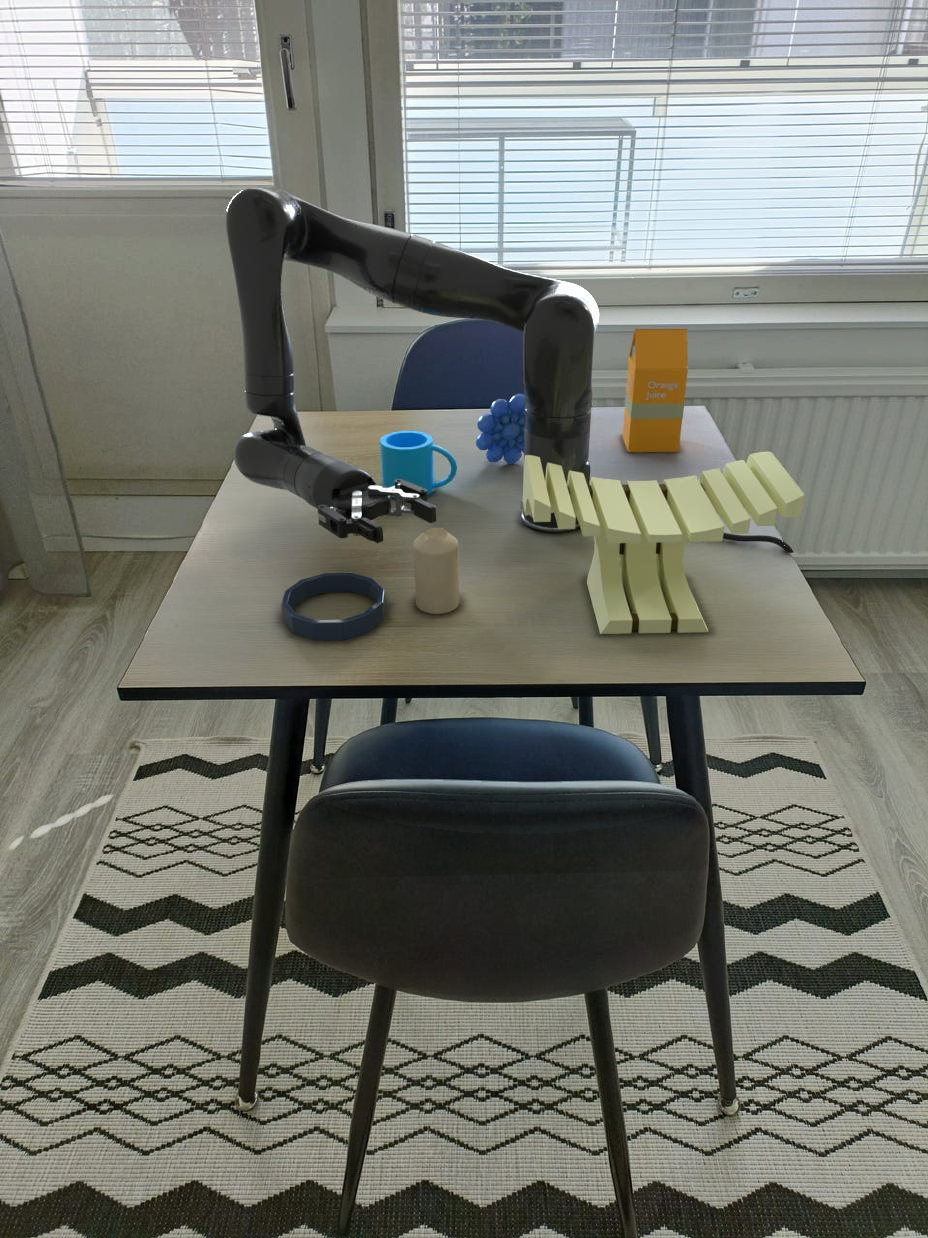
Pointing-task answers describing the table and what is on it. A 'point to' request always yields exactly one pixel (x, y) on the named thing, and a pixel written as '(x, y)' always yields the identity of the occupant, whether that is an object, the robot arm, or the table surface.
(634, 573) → the slatted curved stool
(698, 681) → the table surface
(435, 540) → the candle
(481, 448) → the blue ball flower
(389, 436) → the mug
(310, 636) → the ring
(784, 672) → the table surface
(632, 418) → the orange juice
